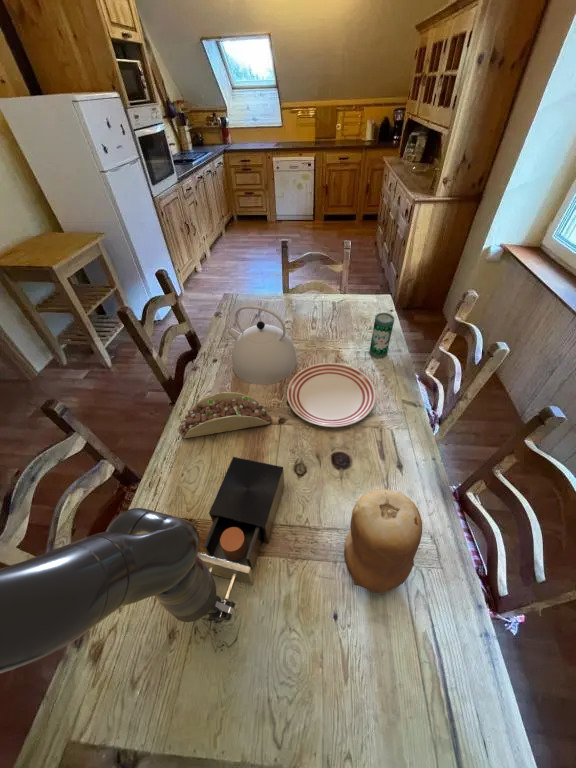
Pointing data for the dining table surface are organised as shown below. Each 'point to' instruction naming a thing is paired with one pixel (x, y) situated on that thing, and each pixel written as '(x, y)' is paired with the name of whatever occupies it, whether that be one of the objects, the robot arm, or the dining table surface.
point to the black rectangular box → (250, 494)
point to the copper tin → (233, 543)
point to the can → (381, 335)
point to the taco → (223, 414)
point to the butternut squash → (382, 540)
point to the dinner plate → (331, 395)
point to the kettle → (262, 352)
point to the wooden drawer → (224, 565)
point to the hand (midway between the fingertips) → (208, 613)
